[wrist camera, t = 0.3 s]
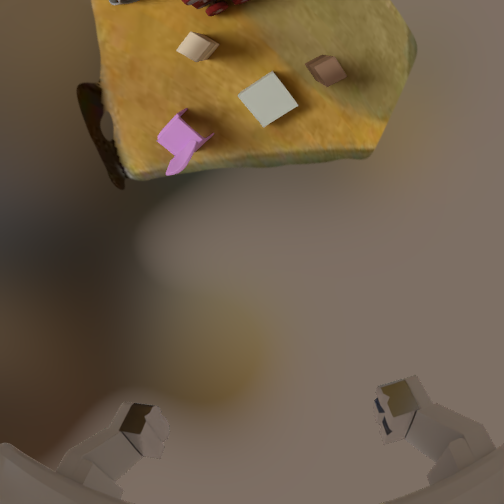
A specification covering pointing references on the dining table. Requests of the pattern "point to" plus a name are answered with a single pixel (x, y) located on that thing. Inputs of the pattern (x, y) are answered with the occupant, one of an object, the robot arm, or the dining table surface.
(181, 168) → the toy chair
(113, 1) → the ceramic mug
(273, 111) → the pedestal block
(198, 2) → the toy fire truck
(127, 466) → the robot arm
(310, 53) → the dining table surface
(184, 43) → the maple block
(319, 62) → the walnut block
